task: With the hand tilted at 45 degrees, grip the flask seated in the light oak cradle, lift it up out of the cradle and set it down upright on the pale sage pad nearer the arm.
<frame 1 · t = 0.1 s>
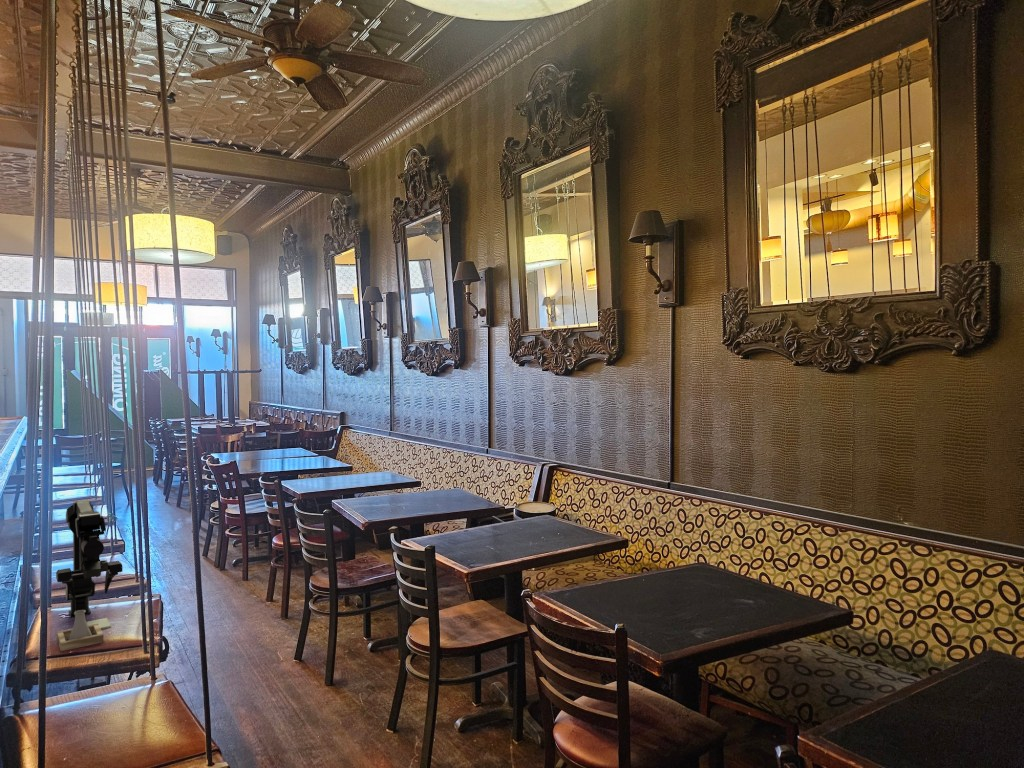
hand: (90, 596, 231), 15 cm above the table, tool pointing down, fingers open, 9 cm apart
flask: (80, 641, 230), resting in oak cradle
oak cradle: (80, 640, 230), on the table
sage pad: (94, 626, 242), on the table
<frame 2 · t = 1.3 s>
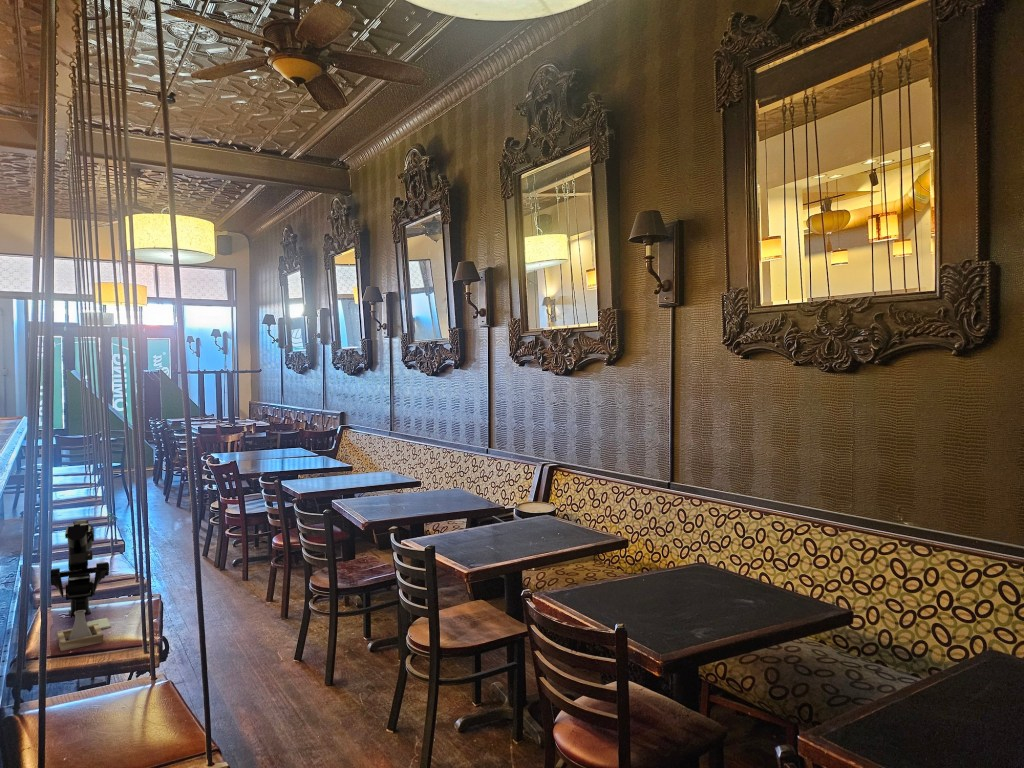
hand: (78, 594, 236), 13 cm above the table, tool tilted 45°, fingers open, 9 cm apart
nothing on the table moved.
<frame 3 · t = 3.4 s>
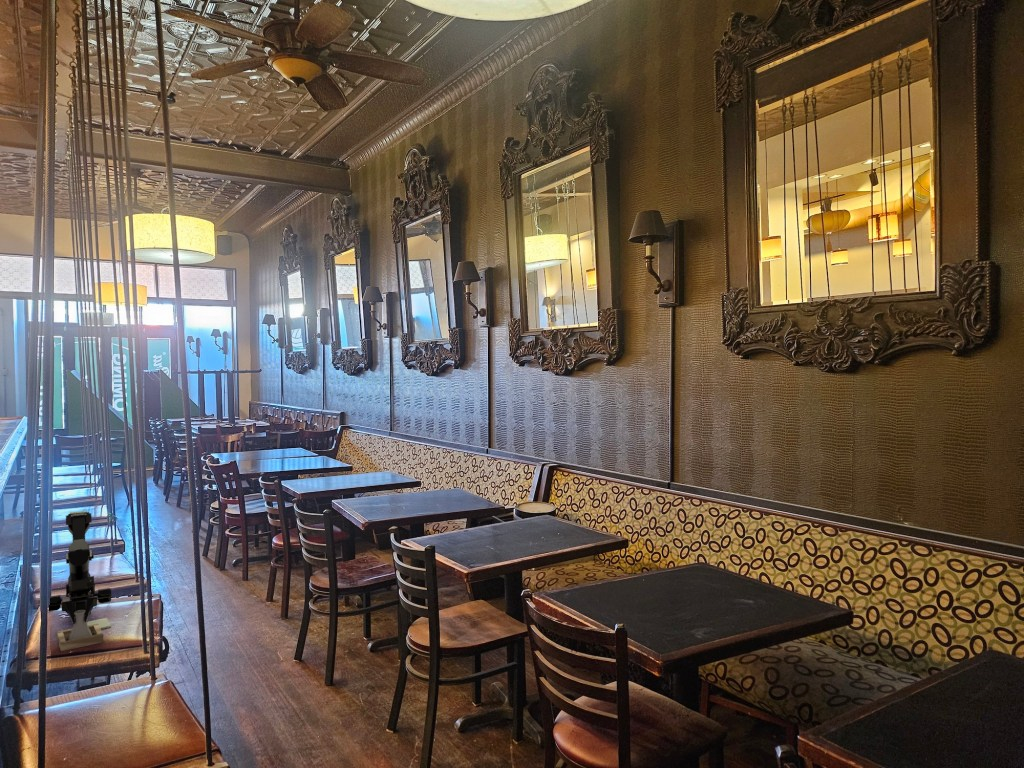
hand: (79, 622, 229), 7 cm above the table, tool tilted 45°, fingers closed on flask, 3 cm apart
flask: (80, 641, 230), resting in oak cradle, touching gripper
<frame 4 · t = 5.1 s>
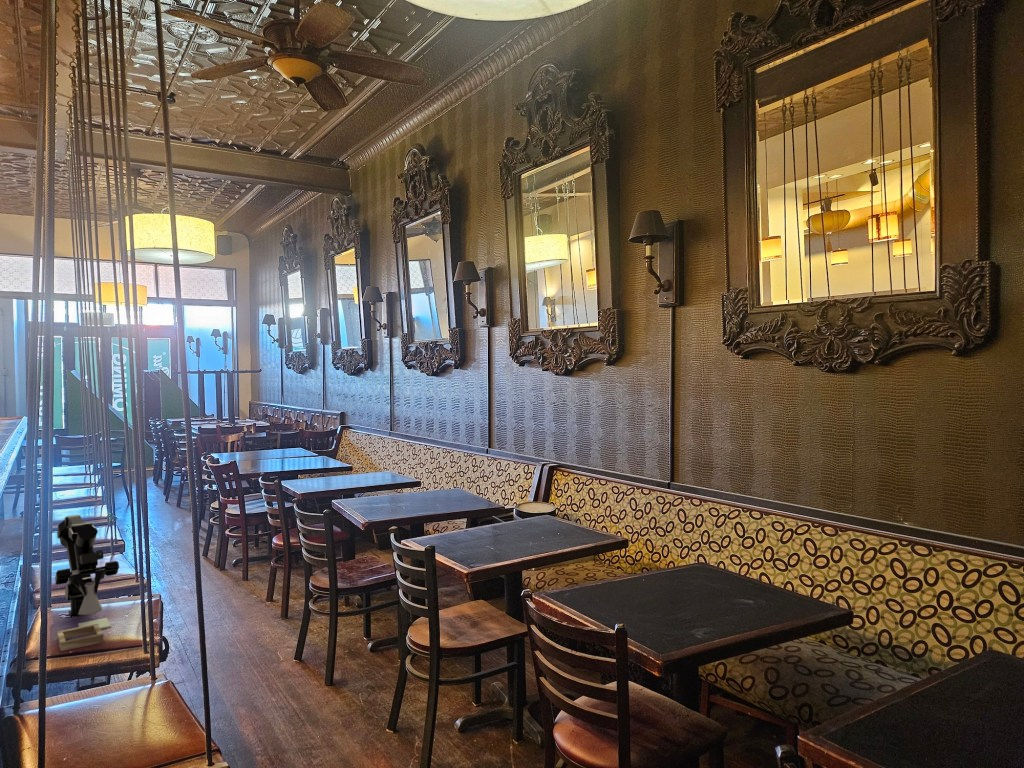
hand: (90, 594, 236), 14 cm above the table, tool tilted 45°, fingers closed on flask, 3 cm apart
flask: (90, 612, 237), point 7 cm above the table, touching gripper
when the fingers open (8 cm above the table, at t = 6.9 s): flask stays where it is, resting on sage pad.
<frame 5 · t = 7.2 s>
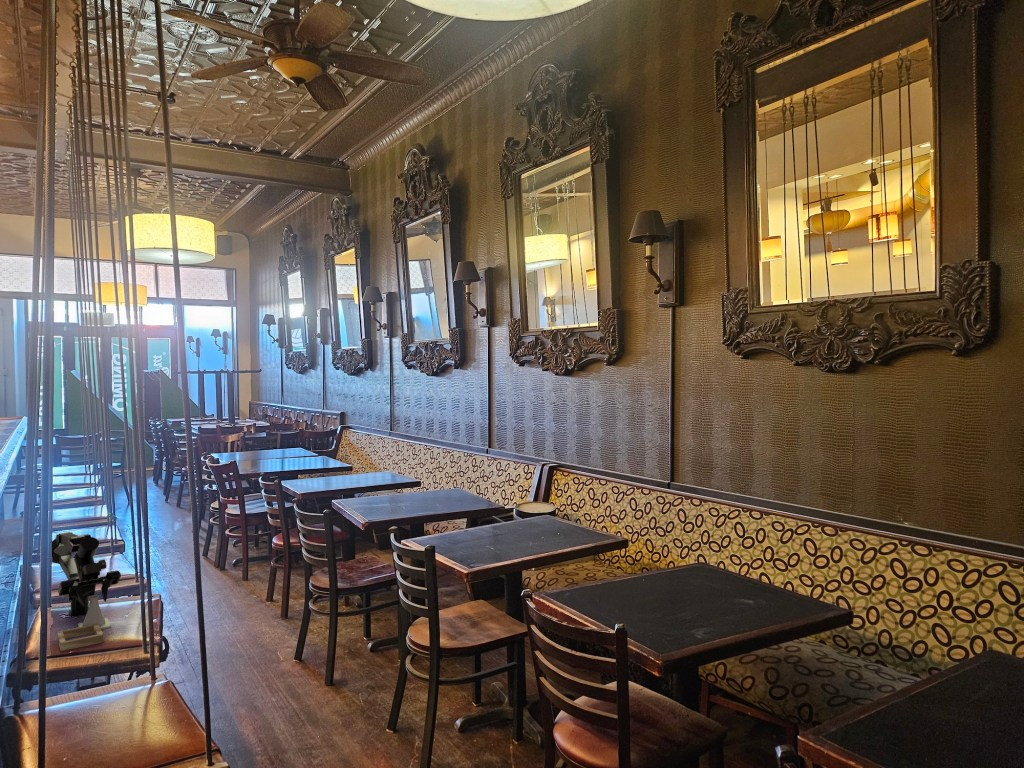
hand: (95, 603, 241), 9 cm above the table, tool tilted 45°, fingers open, 6 cm apart
flask: (94, 624, 242), resting on sage pad
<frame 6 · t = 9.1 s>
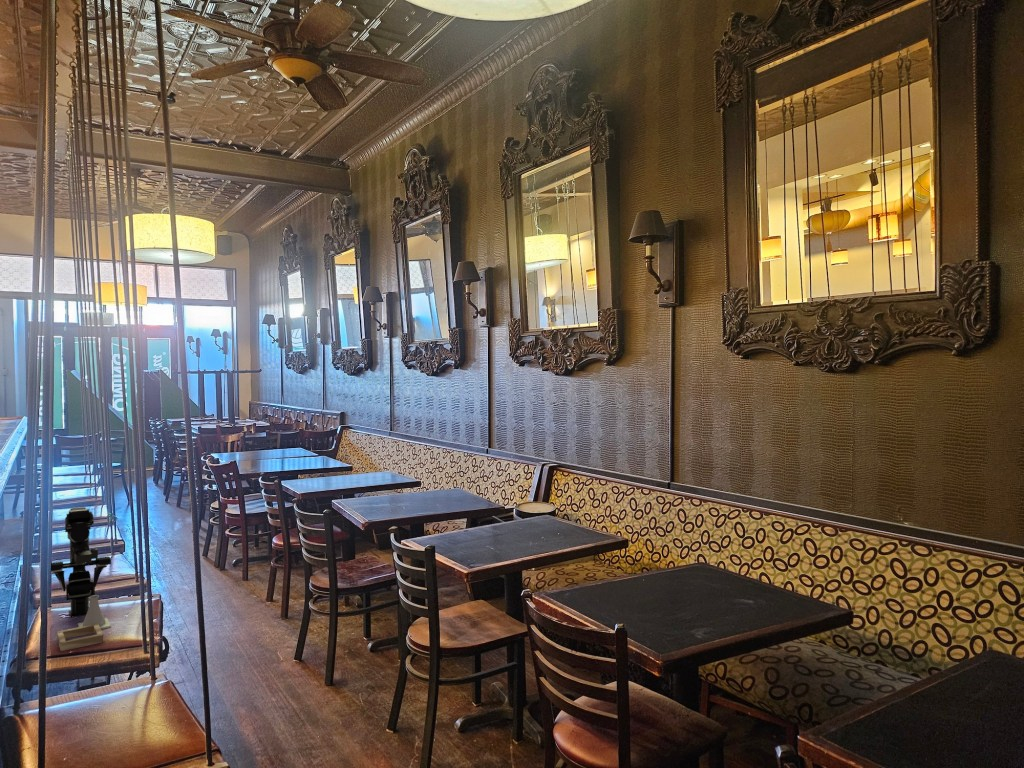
hand: (79, 589, 241), 13 cm above the table, tool tilted 20°, fingers open, 9 cm apart
nothing on the table moved.
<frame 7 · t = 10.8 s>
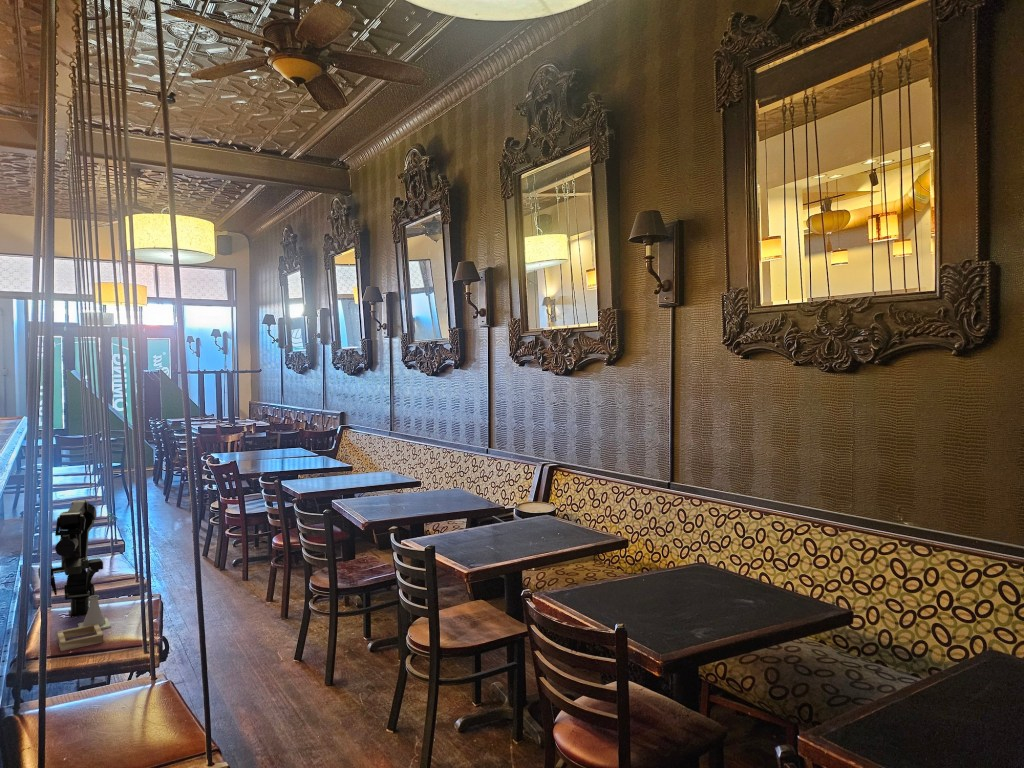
hand: (71, 592, 239), 13 cm above the table, tool pointing down, fingers open, 9 cm apart
nothing on the table moved.
at the end: flask 0.2 cm off-centre on the sage pad, point 0.4 cm above the sage pad's base; flask tilted 0°; the gripper is holding nothing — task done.
